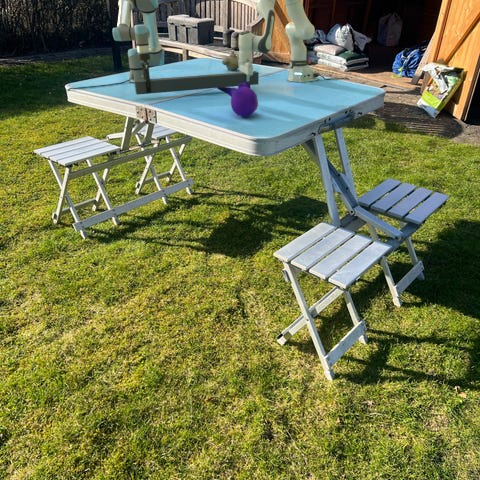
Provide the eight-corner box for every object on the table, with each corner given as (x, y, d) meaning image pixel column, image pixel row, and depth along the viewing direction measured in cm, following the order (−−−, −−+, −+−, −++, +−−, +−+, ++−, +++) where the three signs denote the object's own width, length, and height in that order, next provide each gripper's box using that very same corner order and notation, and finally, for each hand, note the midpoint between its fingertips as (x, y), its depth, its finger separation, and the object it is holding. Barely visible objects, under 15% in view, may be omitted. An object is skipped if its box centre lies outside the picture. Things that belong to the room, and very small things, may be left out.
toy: (241, 106, 267) (257, 123, 246) (213, 101, 259) (228, 118, 239) (248, 79, 259) (266, 94, 238) (220, 73, 251) (235, 89, 231)
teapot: (225, 72, 362) (225, 52, 354) (219, 70, 371) (218, 51, 363) (248, 69, 371) (248, 50, 364) (241, 67, 380) (241, 48, 372)
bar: (136, 94, 282) (134, 82, 278) (135, 92, 287) (134, 80, 283) (258, 84, 302) (258, 72, 298) (255, 82, 307) (255, 71, 303)
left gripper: (151, 54, 267) (156, 94, 279) (147, 50, 283) (152, 88, 294) (139, 55, 265) (144, 95, 277) (135, 51, 281) (140, 89, 293)
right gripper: (255, 60, 286) (255, 82, 293) (245, 55, 303) (246, 77, 310) (245, 61, 285) (246, 83, 292) (236, 56, 302) (237, 77, 309)
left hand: (148, 91), depth 286 cm, fingers closed on bar, 6 cm apart
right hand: (246, 80), depth 301 cm, fingers closed on bar, 5 cm apart
